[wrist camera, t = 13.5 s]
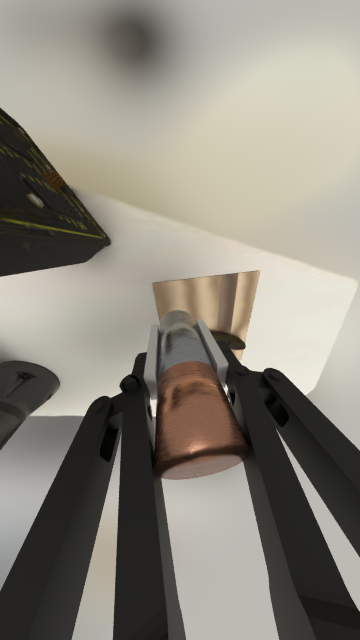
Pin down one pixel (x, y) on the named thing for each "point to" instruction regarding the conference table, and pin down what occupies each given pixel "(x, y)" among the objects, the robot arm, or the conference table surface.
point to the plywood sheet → (212, 301)
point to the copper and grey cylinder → (192, 407)
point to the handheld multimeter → (39, 210)
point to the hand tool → (229, 340)
